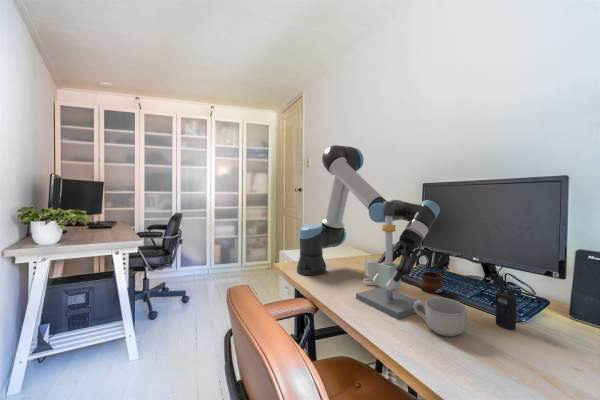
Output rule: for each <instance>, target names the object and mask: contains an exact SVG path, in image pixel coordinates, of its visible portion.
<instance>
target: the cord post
mask: <svg viewBox="0 0 600 400" xmlns="http://www.w3.org/2000/svg"><path fill="white" fill-rule="evenodd" d="M384 216H385V222H384V223H385V224H382V232H384V233H385V236H384V237H385V242H384V243H385V251H386V265H388V266H392V265H393V263H394V261H393V245H392V244H393V232H396V224H393V221H392V216H394V201H391V200H390V201H388V200H386V201H384ZM355 299H356V300H358V301H359V302H362V303H365V304H366V305H368V306H370V307H373V308H374V309H377V310H379V311H380V312H383V313H385V314H386V315H388V316H390V317H393V318H395V319H397V320H399V319H402V318H405V317H408V316H410V315H414V314H417V313H416V312H415V310H414V307H413V306H414V303H415V302H416V301H418V300H419V299H415V298H413V297H411V296H408V295H405V294H403V293H400V292H398V291H395V290H394V289H392V290H388V289H386V288H383V287H380V286H378V287H376V288H372V289H368V290H365V291H360V292H356V293H355ZM417 308H418V310H419V311H420V312H423V311H425V310H424V307H423V306H422V305H421V304H418V305H417Z"/></svg>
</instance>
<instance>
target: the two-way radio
mask: <svg viewBox="0 0 600 400" xmlns="http://www.w3.org/2000/svg"><path fill="white" fill-rule="evenodd" d="M504 286H505V285H504V276H503V275H500V277H499V288H498V290H499V291H497V292H496V293H495V312H494V313H495V314H494V315H495V324H496V325H498V326H500V327H503V328H505V329H508V330H516V328H517V327H516V326H517V313H518V311H517V309H518V308H517V307H518V306H517V305H518V304H517V302H518V301H517V297H516V296H515V294H514V293H513V291H512V290H511V289H507V290H506V291H507V292H505V291H504V290H505V289H504V288H505V287H504Z"/></svg>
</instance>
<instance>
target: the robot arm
mask: <svg viewBox="0 0 600 400" xmlns="http://www.w3.org/2000/svg"><path fill="white" fill-rule="evenodd" d="M321 160H322V165H323V166H324V169H326V171H327V172H328V173H329V174H330V175H331V176H334V179H333V183H332V188H331V192H330V198H329V202H328V207H327V212H326V217H325V218H324V219H322V221H321V224H319V223H317V224H316V223H314V224H307V225H303V226H302V227H301V228H300V229H299V235H298V238H299V259H298V261H297V265H296V272H297V274H299V273H300V275H303V274H304V275H305V276H318V275H323V274H325V273H326V272H327V264H326V261H325V259H324V256H323V255H324V254H323V252H324V251H323V249H328V248H335V247H338V246H340V245H343V243H344V242H345V240H346V237H347V233H346V229H345V224H344V223H343V218H344V213H345V208H346V205H347V201H348V198H349V197H348V195H349V191H350V192H351V193H352V194H353V195H354V196H355V198H357V200H358V201H360V202H361V204H363V205H364V206H365V208H366V209H368V217H369V218H370V220H371V221H372V222H374V223H385V216H384V201H387V200H386V199H385V198H384V197H383V196H382V195H381V194H380V193H379V192H378V191H377V190H376V189H375V188H374V187H372V185H371V184H370V183H369V182H367V180H365V179H364V178H363V177H362V176H361V175H360V174H359V173H358V172H357V171H360V169H361V168H362V167H363V164H364V155H363V153H362V151H361V150H360V149H359V148H357V147H353V146H348V145H347V146H346V145H345V146H344V145H336V144H333V145H331V146H328V147H327V148H325V150H324V151H323V152H322V158H321ZM390 201H394V216H392V222H394V221H395V222H396V221H405V222H408V223H407V224H406V226H405V228H404V230H403V231H402V232H401V234H400V236H399V240H398V241H397V242H396V243H392V245H393V262H394V261H396V259H398V258H400V257H401V258H400V262H399V268H398V269H397V270H398V271H397V270H395V271H394V273H393V275H392V276H391V278H390V279H389V281H388V283H387V284H386V286H387V287H388V288H389V289H390V290H392V289H393V287H394V285H395V284H396V282H398V281H399V280H400V278H401V279H402V277H403V276H404V275H406V276H409V275H410V274H411V272H412V270H413V268H414V266H415V265H416V263H417V261H418V260H419V258H420V257H421V256H422V255H423V253H422V251H421V250H420V249H419V247H420V245H421V244H422V243H423V240H424V239H425V238H426V236H427V234H428V232H429V230H430V229H431V227H432V225H433V224H434V223H435V221H436V220H437V218H438V216H439V214H440V212H441V208H440V206H439V204H437V203H436V202H435V201H432V200H430V199H426V200H422V201H421V203H420V204H417V203H411V202H407V201H403V200H400V199H399V200H398V199H391V200H390ZM378 259H379V261H378V263H384V262H386V250H385V251H384V252H383V254H382V255H381V256H380V258H378ZM376 273H377V274H376V275H375V276H373V278H374V279H373V281H374V282H375V283H376V284H377V285H376V286H378V271H377V272H376ZM304 275H303V276H304ZM393 290H394V289H393Z"/></svg>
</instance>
